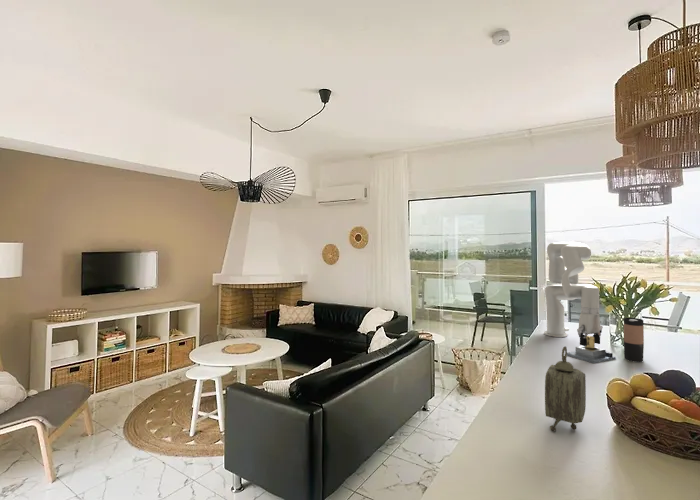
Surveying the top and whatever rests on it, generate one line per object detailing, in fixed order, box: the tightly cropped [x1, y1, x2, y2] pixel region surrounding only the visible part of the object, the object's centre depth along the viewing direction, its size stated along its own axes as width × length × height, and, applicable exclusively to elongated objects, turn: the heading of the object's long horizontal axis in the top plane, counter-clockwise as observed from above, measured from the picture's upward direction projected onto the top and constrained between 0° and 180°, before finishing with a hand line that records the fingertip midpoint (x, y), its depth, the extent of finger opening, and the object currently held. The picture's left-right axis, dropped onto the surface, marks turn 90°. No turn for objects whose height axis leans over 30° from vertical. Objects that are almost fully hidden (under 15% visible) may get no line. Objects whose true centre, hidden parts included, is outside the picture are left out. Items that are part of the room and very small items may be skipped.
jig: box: [567, 345, 617, 364], centre depth 176 cm, size 16×14×4 cm
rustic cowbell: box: [544, 346, 587, 432], centre depth 108 cm, size 14×9×25 cm, turn 141°
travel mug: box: [623, 317, 645, 363], centre depth 171 cm, size 8×8×20 cm
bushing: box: [585, 335, 596, 350], centre depth 176 cm, size 4×4×9 cm
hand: (590, 344), depth 176 cm, fingers open, 9 cm apart
